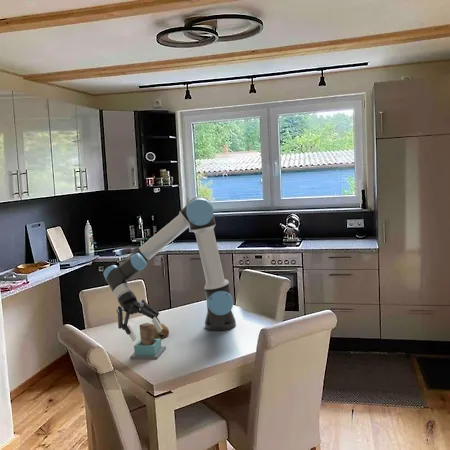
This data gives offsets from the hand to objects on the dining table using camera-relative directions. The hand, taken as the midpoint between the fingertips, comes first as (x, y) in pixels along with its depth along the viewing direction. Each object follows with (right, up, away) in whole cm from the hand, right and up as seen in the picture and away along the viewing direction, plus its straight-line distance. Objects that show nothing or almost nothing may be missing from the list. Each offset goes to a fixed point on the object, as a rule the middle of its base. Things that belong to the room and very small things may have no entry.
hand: (148, 334), depth 222 cm
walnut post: (0, -8, +2) cm, 8 cm away
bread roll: (+1, -6, +25) cm, 26 cm away
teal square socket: (0, -8, +2) cm, 9 cm away
